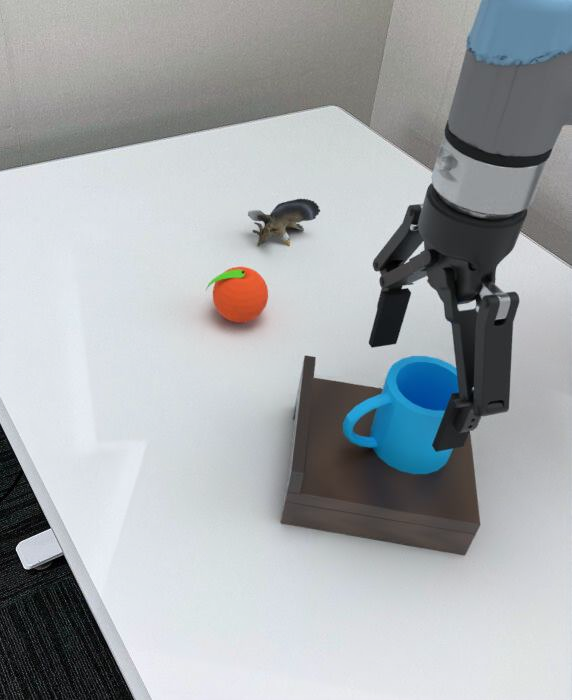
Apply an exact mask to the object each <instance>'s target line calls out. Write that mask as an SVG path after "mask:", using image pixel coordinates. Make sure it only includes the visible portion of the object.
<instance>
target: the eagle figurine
mask: <svg viewBox="0 0 572 700" xmlns="http://www.w3.org/2000/svg"><path fill="white" fill-rule="evenodd" d="M320 212H321V209H320V206H319V205H318V203H316V202H315V201H314V200H311V199H308V198H297V199H292V200H287V201H283V202H280V203H278V204H276V206H275V207H274V208H273V209H272V211H271V212H270V214H268V213H267V214H265V213H264V212H263V211H262V210H260V209H255V210H249V211H247V217H249V219H251V220H252V221H254V222H253V224H254V225H256V226H257V227H258V228H259V231H258V230H257V229H253V230H252V233H254V234H256V235H257V236H258V241H257V243H256V244H257V247H260V246H261V245H263V244H265V243H266V242H267V239H268V238H269V237H275V236H277V237H279V238H281V239H282V241H284V242H285V243H286V244H287V246H288V247H289V246H291V237H290V235H289V234H288V233H287V230H286V228H290V229H296V230H299V231H305V228H304V227H303V225H301V224H300V223H302V222H309V221H313V220H315V219H316V218H317V216H318V215H320V214H319V213H320ZM259 222H263V223H264V227H263V225H262V223H259Z"/></svg>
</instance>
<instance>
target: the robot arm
mask: <svg viewBox="0 0 572 700" xmlns="http://www.w3.org/2000/svg"><path fill="white" fill-rule="evenodd" d="M465 48H466V49H465V53H464V57H463V61H462V65H461V69H460V73H459V76H458V80H457V84H456V88H455V90H454V95H453V98H452V101H451V105H450V109H449V113H448V116H447V120H446V124H445V127H444V131H443V136H442V139H441V143H440V146H439V150H438V153H437V157H436V160H435V164H434V167H433V171H432V174H431V177H430V178H431V183H430V184H429V185H428V187H427V189H426V192H425V196H424V199H423V203H418V204H416V203H415V204H409V205H408V207H407V209H406V212H405V215H404V218H403V221H402V222H401V224H400V225H399V227H398V228H397V230H395V231H394V233H393V235H392V236H391V237H390V238H389V239H388V241H387V242H386V243H385V244H384V246H383V247H382V249H381V250H380V251H379V253H377V255H375V257H374V259H373V261H372V269H373V271H375V272H379V274H380V277H379V280H378V282H379V286H380V288H381V289H380V293H379V296H378V300H377V305H376V312H375V317H374V319H373V324H372V328H371V332H370V335H369V339H368V345H369V347H370V348H371V349H373V348H379V347H385V346H392V345H397V343H398V339H399V336H400V333H401V329H402V326H403V323H404V319H405V317H406V312H407V309H408V306H409V302H410V299H411V296H412V291H410V289H409V288H407V287H406V286H412V285H415V282H417V281H419V280H421V279H423V278H425V277H427V280H426V282H427V283H428V285H429V286H430V287H431V288H432V289H433V290H435V292H436V293H437V295H438V297H439V299H440V301H442V304H443V311H444V318H445V320H446V322H449V323H450V324H451V333H452V341H453V343H452V344H453V350H454V359H455V367H456V371H457V380H458V389H459V393H453V394H451V397H450V400H449V402H448V405H447V407H446V410H445V413H444V415H443V418H442V420H441V423H440V426H439V428H438V431H437V433H436V436H435V439H434V441H433V444H432V446H433V448H434V450H435V451H436V452H438V451H443V450H448V449H453V448H459V447H463V446H464V444H465V442H466V439H467V437H468V435H469V432H470V433H471V431H474V430H476V429H477V428H478V426H479V423H480V421H481V419H482V417H483V418H484V417H488V416H494V415H498V414H504V413H507V412H508V411H509V409H510V395H511V374H512V357H513V356H512V353H513V336H514V335H513V334H514V333H513V332H514V321H515V318H516V315H517V311H518V308H519V306H520V296H519V294H518V292H517V291H508V292H504V291H503V290H502V289H501V288H500V287H499V286H498V285H496V273H497V267H498V265H499V264H500V263H501V262H502V261H503V260H504V259H505V258H506V257H508V256H509V254H511V252H512V251H513V250H514V248H515V247H516V244H517V241H518V238H519V237H520V234H521V231H522V229H523V226H524V224H525V220H526V218H527V215H528V208H529V207H530V206H531V205H532V203H533V201H534V200H535V197H536V194H537V192H538V188H539V186H540V183H541V181H542V178H543V176H544V173H545V170H546V167H547V164H548V162H549V160H550V157H551V154H552V152H553V149H554V147H555V145H556V143H557V140H558V138H559V136H560V133H561V131H562V129H563V127H564V126H572V0H481V1H480V3H479V7H478V10H477V12H476V14H475V17H474V21H473V24H472V27H471V30H470V31H469V33H468V35H467V37H466V45H465ZM422 244H423V246H424V247H423V248H424V250H421V251H420V253H418V254H416V255H414V256H413V257H412V255H413V254H414V253H415V252H416V250H418V248H419V247H420V246H421V245H422ZM404 286H405V288H403V287H404ZM472 302H475V307H474V308H470V309H461V310H459V306H460V305H466V304H467V305H468V304H469V303H472ZM472 389H473V390H472Z"/></svg>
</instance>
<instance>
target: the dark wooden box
mask: <svg viewBox="0 0 572 700" xmlns="http://www.w3.org/2000/svg"><path fill="white" fill-rule="evenodd" d="M316 360H317V357H316V356H313V355H304V358H303V361H302V367H301V372H300V377H299V382H298V387H297V392H296V397H295V403H294V407H293V417H292V420H294V422H293V432H292V438H291V439H292V440H291V447H290V455H289V456H290V457H289V464H288V473H287V474H288V475H287V480H286V481H287V483H286V489H285V492H284V498H283V501H282V502H283V503H282V507H281V516H280V524H284V525H288V526H289V525H290V526H295V527H299V528H300V527H302V528H305V529H312V530H317V531H324V532H328V533H329V532H330V533H335V534H341V535H345V536H353V537H358V538H364V539H371V540H376V541H381V542H388V543H393V544H398V545H403V546H404V545H405V546H410V547H416V548H420V549H421V548H423V549H427V550H432V551H433V550H434V551H438V552H444V553H450V554H455V555H462V556H466V554H467V553H468V550H469V548H470V546H471V545H472V543H473V541H474V539H475V537H476V535H477V533H478V531H479V529H480V527H481V519H480V509H479V501H478V492H477V490H478V489H477V480H476V474H475V473H476V472H475V462H474V455H473V444H472V435H471V431H470V432H469V435H468V437H467V439H466V442H465V444H464V446H463V447H459V448H453V450H452V452H451V455H450V457H449V459H448V461H447V463H446V464H445V465H444V466H443V467H442V468H440V469H439V470H438V471H435V472H431V473H428V474H411V473H407V472H402V471H399V470H397V469H395V468H393V467H391V466H389V465H388V464H387V463H385V462H384V461H383V460H382V459H381V458H379V457H378V455H377V454H376V452H375V451H374V449H373V448H368V447H362V446H358V445H356V444H354V443H352V442H350V441H349V440H348V439H347V438H346V436H345V435H344V433H343V422H344V420H345V418H346V416H347V414H348V413H349V412H350V411H351V410H352V409H353V408H354V407H355V406H357V405H359V404H360V403H362V402H363V401H365V400H367V399H369V398H372V397H374V396H377V395H379V394H381V393H382V390H383V387H377V386H376V387H375V386H369V385H362V384H358V383H351V382H345V381H337V380H332V379H326V378H320V377H315V370H316V362H317V361H316ZM376 410H377V408H375V409H373V410H371V411H370V412H368V413H366V414H365V415H363V416H362V417H361V418H360V419H359V420H358V421H357V422H356V423H355V425H354V427H353V432H354V433H355V434H357V435H359V436H364V437H370V430H371V426H372V423H373V420H374V416H375V413H376Z"/></svg>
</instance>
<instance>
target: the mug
mask: <svg viewBox="0 0 572 700" xmlns="http://www.w3.org/2000/svg"><path fill="white" fill-rule="evenodd" d="M384 380H385V381H384V383H383V387H382V389H383V390H382V393H381V394H379V395H377V396H374V397H372V398H369V399H367V400H365V401H363V402H362V403H360V404H359V405H357V406H355V407H354V408H353V409H352V410H351V411H350V412H349V413H348V414H347V416H346V418H345V420H344V422H343V433H344V435H345V436H346V438H347V439H348V440H349V441H350V442H352V443H354V444H356V445H358V446H362V447H368V448H373V449H374V451H375V452H376V454H377V455H378V457H379V458H381V459H382V460H383V461H384V462H385V463H387V464H388V465H389V466H391V467H393V468H395V469H397V470H399V471H402V472H407V473H411V474H428V473H431V472H435V471H438V470H439V469H440V468H442V467H443V466H444V465H445V464H446V463H447V461H448V459H449V457H450V455H451V452H452V450H453V449H448V450H443V451H438V452H436V451H435V450H434V448H433V446H432V444H433V441H434V439H435V436H436V433H437V431H438V428H439V426H440V423H441V420H442V418H443V415H444V413H445V410H446V407H447V405H448V402H449V400H450V397H451V394H453V393H459V389H458V380H457V371H456V366H455V365H453V364H452V363H449V362H447V361H445V360H443V359H441V358H437V357H434V356H433V357H432V356H427V355H412V356H407V357H403V358H401V359H399V360H397V361H396V362H394V363H393V364H392V365H391V366H390V368H389V369H388V371H387V373H386V377H385V379H384ZM472 390H474V388H473V389H472ZM375 408H377V410H376V413H375V416H374V420H373V423H372V426H371V430H370V437H364V436H359V435H357V434H355V433H354V432H353V427H354V425H355V423H356V422H357V421H358V420H359V419H360V418H361V417H362V416H363V415H365V414H366V413H368V412H370V411H371V410H373V409H375Z"/></svg>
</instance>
